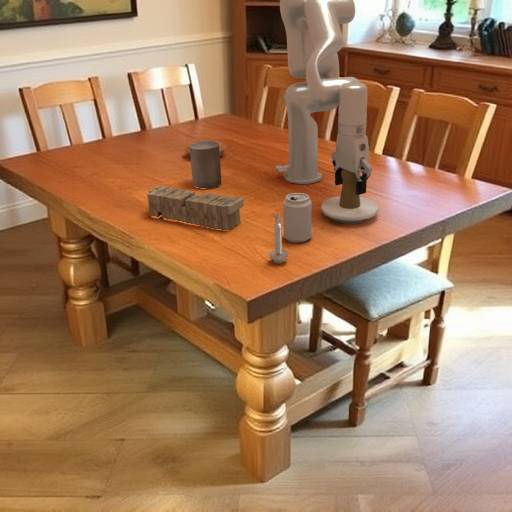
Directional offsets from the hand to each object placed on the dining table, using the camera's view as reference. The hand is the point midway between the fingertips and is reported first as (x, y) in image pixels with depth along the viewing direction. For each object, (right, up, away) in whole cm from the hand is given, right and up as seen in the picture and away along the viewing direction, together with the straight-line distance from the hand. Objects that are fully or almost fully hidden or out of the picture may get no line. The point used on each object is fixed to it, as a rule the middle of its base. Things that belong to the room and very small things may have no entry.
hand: (350, 189), depth 192 cm
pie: (-45, +18, +63) cm, 80 cm away
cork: (0, -5, +2) cm, 5 cm away
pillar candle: (-43, +4, +33) cm, 54 cm away
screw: (-21, -20, -22) cm, 37 cm away
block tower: (-45, -9, +5) cm, 46 cm away
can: (-15, -14, -9) cm, 23 cm away
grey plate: (0, -8, +3) cm, 8 cm away
